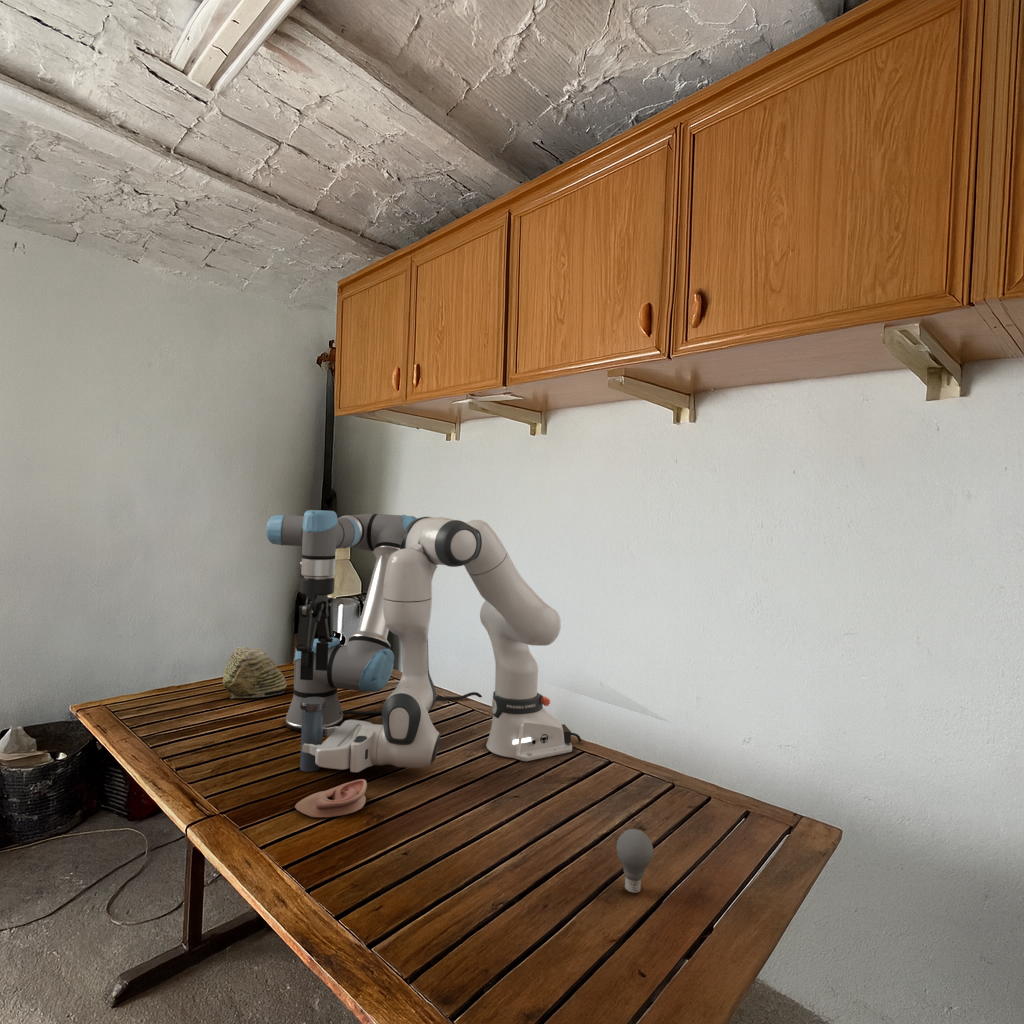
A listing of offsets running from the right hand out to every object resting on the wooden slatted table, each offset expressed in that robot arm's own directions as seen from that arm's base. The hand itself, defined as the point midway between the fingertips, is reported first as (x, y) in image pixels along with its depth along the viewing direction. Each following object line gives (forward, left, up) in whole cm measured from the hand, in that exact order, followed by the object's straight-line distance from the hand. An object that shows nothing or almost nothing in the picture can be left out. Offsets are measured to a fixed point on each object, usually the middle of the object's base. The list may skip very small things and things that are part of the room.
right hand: (311, 739), depth 148 cm
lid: (0, 0, +9) cm, 9 cm away
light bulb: (-49, +63, -7) cm, 80 cm away
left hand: (0, 0, +15) cm, 15 cm away
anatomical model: (-3, +20, -7) cm, 21 cm away
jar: (0, 0, -7) cm, 7 cm away
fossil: (+14, -59, -7) cm, 61 cm away
